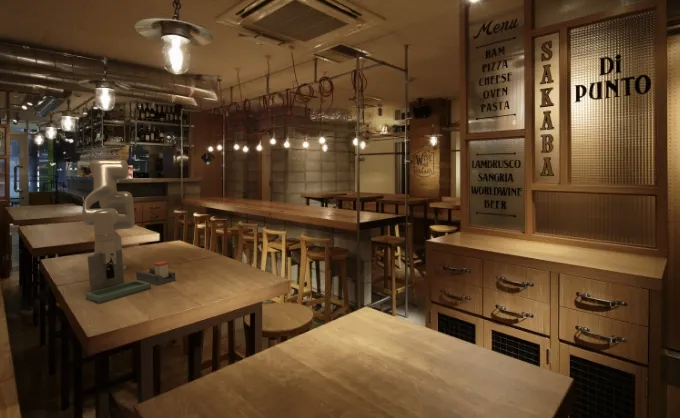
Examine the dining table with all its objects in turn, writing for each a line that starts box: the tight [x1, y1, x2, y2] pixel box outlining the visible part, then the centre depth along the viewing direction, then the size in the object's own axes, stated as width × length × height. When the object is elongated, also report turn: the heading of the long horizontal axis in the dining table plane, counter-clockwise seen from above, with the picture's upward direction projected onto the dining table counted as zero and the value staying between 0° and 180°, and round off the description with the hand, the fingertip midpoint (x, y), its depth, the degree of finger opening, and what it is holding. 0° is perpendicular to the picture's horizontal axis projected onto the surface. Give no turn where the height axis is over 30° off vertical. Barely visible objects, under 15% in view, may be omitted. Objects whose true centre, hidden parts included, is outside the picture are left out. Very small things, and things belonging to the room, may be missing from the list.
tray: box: [84, 279, 152, 304], centre depth 178 cm, size 11×23×2 cm, turn 148°
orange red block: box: [153, 260, 169, 278], centre depth 196 cm, size 4×5×7 cm
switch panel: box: [135, 267, 176, 286], centre depth 199 cm, size 18×9×4 cm, turn 58°
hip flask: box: [87, 249, 125, 292], centre depth 182 cm, size 16×4×20 cm, turn 157°
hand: (107, 276), depth 183 cm, fingers closed on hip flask, 4 cm apart
